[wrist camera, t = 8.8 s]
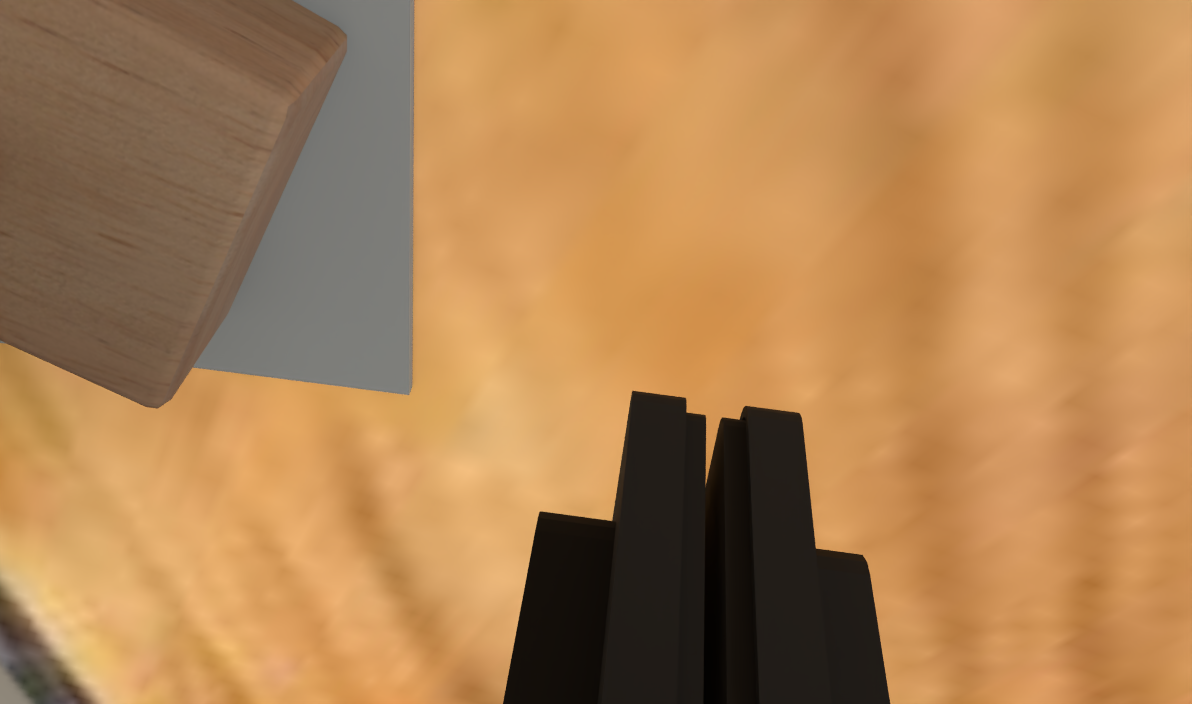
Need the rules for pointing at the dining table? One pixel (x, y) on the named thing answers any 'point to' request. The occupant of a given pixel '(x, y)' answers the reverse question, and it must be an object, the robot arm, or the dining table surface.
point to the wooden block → (145, 172)
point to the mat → (339, 227)
